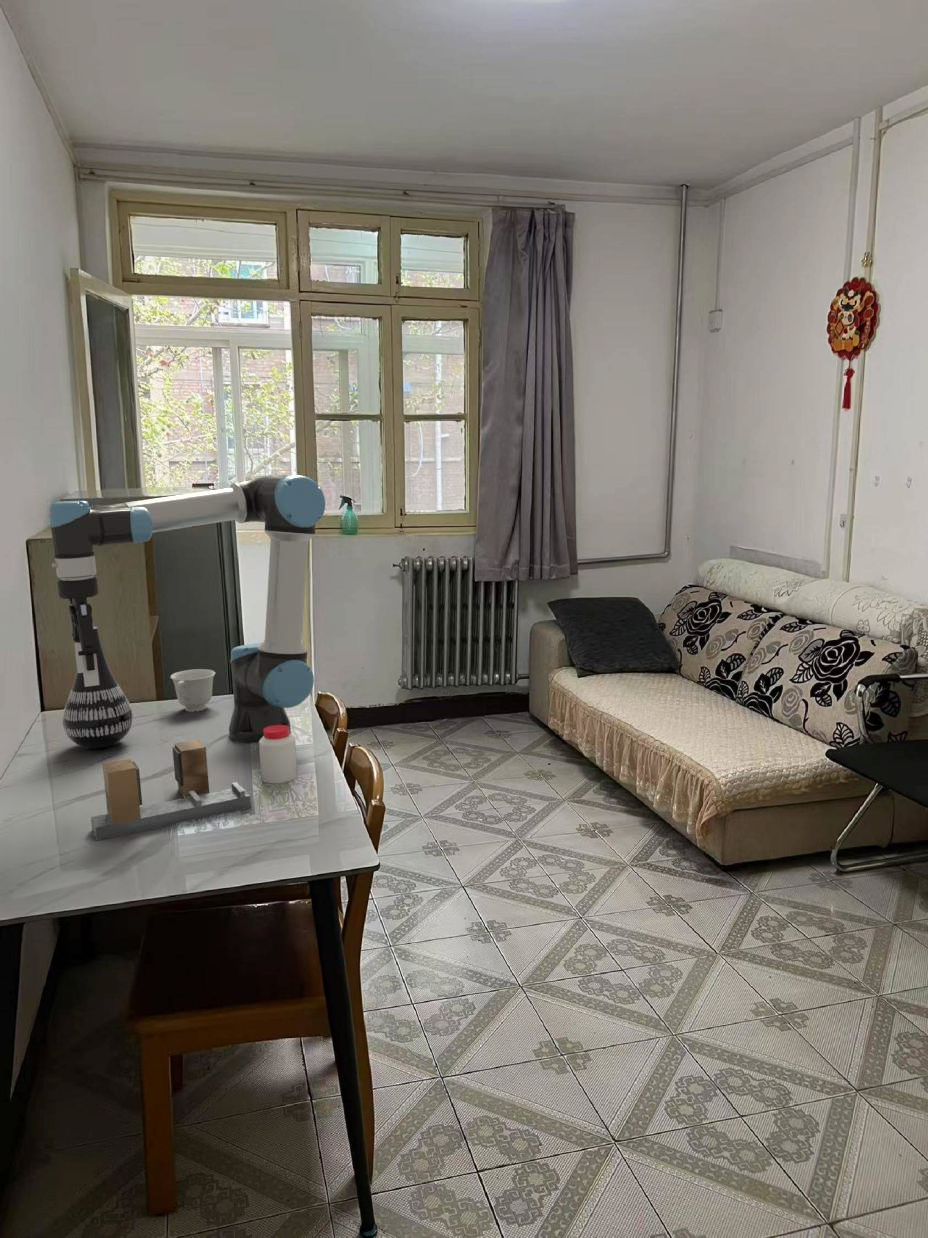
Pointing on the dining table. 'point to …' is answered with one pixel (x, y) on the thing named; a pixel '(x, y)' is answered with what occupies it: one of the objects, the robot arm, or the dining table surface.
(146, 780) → the dining table surface
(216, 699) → the dining table surface
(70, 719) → the vase
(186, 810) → the rail
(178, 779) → the brown wooden block
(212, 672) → the teacup
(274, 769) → the pill bottle
